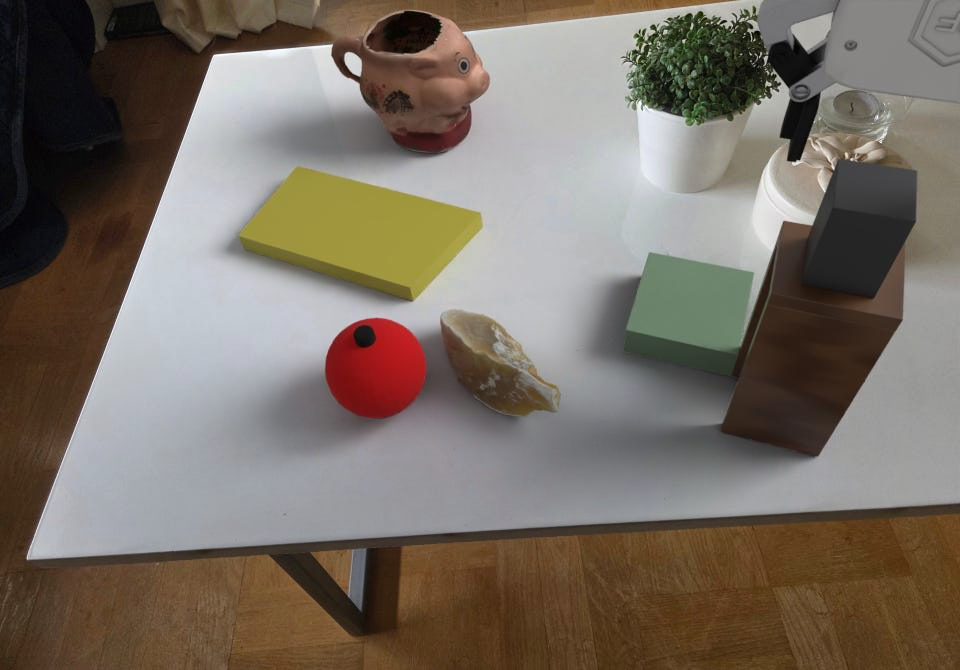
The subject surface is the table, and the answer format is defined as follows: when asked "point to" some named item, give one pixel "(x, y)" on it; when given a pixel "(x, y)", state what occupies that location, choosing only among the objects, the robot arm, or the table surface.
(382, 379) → the ornament
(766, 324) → the tall brown wooden block
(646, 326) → the sage green square slab
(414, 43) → the face mug
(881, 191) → the block
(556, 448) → the table surface
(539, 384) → the stone
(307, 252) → the flat olive board
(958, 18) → the robot arm
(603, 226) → the table surface
